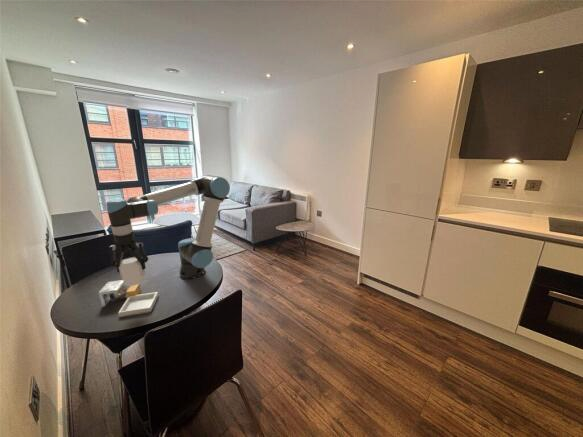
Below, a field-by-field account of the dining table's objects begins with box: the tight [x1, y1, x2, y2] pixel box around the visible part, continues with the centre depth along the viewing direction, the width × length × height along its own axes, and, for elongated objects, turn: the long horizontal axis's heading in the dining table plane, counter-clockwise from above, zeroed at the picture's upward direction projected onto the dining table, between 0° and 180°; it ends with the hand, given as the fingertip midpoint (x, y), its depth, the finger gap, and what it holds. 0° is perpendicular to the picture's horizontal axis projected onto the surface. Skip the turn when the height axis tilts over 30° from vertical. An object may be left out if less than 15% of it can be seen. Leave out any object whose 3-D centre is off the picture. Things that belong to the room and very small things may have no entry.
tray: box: [117, 291, 159, 318], centre depth 118 cm, size 14×14×3 cm
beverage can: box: [120, 256, 145, 287], centre depth 113 cm, size 8×8×12 cm
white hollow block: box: [98, 279, 128, 308], centre depth 123 cm, size 10×10×8 cm
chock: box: [126, 283, 142, 299], centre depth 127 cm, size 4×7×5 cm, turn 15°
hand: (133, 276), depth 114 cm, fingers closed on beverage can, 8 cm apart
